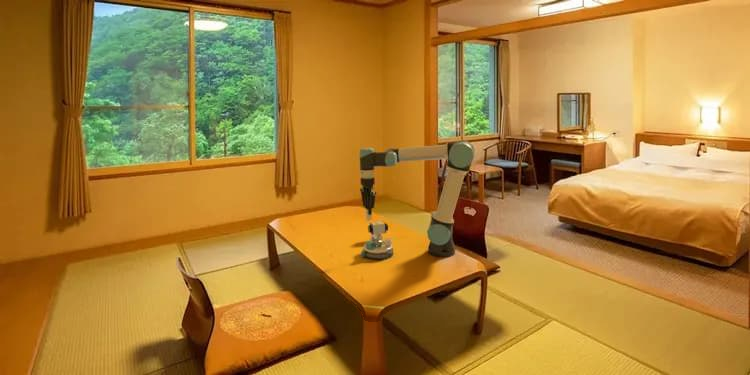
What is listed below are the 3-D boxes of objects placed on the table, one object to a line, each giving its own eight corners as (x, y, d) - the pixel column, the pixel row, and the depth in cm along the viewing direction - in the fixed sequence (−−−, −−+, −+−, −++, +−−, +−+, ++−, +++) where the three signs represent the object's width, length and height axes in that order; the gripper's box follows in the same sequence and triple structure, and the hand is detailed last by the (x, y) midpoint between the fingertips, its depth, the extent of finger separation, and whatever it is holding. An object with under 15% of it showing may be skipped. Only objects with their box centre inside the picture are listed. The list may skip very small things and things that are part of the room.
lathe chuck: (376, 242, 245) (376, 232, 244) (398, 248, 235) (397, 238, 234) (357, 250, 234) (357, 239, 232) (379, 256, 223) (379, 245, 222)
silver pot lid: (399, 253, 236) (399, 246, 236) (379, 263, 222) (379, 256, 222) (375, 247, 247) (375, 240, 246) (354, 256, 233) (354, 249, 232)
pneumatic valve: (388, 240, 258) (388, 221, 256) (370, 242, 255) (369, 223, 252) (385, 237, 263) (385, 219, 261) (367, 239, 260) (367, 221, 258)
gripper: (355, 176, 227) (356, 218, 232) (367, 180, 217) (369, 224, 221) (367, 174, 231) (368, 216, 236) (380, 178, 220) (381, 221, 225)
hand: (368, 220), depth 229 cm, fingers closed
